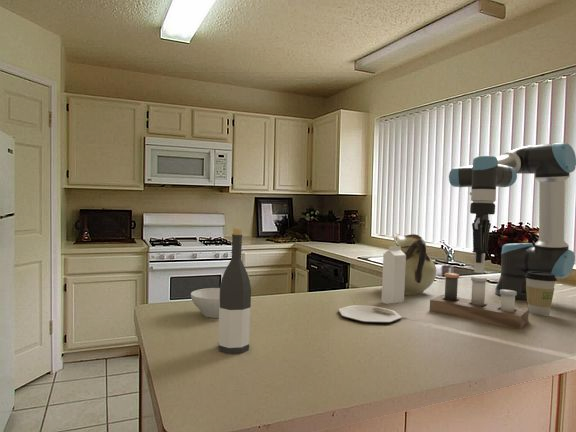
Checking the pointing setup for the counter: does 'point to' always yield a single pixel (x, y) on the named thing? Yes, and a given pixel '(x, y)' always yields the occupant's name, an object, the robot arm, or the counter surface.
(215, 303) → the bowl
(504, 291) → the knob left
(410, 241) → the pitcher
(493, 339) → the counter surface
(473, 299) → the knob mid
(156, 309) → the counter surface
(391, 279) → the milk
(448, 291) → the pot knob
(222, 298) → the wine bottle
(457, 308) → the mount
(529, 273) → the coffee cup
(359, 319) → the plate
